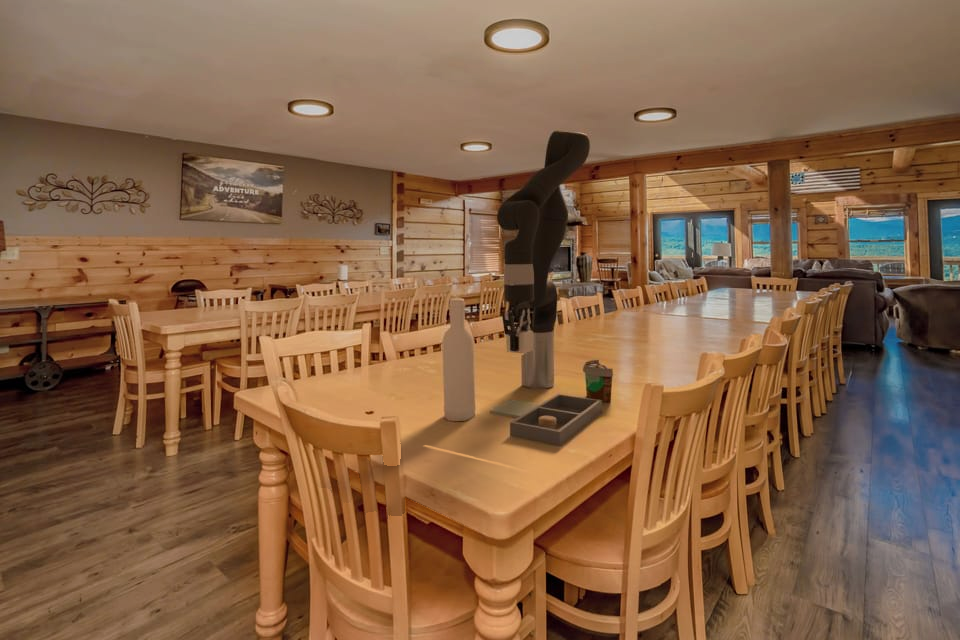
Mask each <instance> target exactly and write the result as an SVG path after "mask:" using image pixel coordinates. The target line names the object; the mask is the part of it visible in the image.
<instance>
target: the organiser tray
mask: <svg viewBox="0 0 960 640" xmlns="http://www.w3.org/2000/svg"><path fill="white" fill-rule="evenodd" d="M602 403H603V402H602V400H597V399H590V398H587V397H584V396H583V397H582V396H575V395H568V394H561V393H557V394H555V395H554V396H552V397H550V398H549V399H547V400H546V401H544V402H541V403H539V404H540V405H538V406H537V407H535V408H533V409H532V410H530V411H528V412H526V413H525V414H523V415H521V416H520V417H518V418H515V419H513V420H511V421H509V436H510V437H514V438H519V439H524V440H527V441H533V442H538V443H543V444H547V445H551V446H552V445H553V446H556V447H561V446H562V445H563V444H565V443H566V442H567V441H568V440H569V439H571V438H572V437H573V436H574V435H576V434H577V433H578V432H580V431H581V430H582V429H583V428H584V427H585V426H587V425H588V424H589V423H591V422H592V421H593V420H594V419H595V418H597V416H599V415H600V414H601V413H603V412H602V410H603V409H602V408H603V404H602ZM541 416H553V417H555V418H556V430H555V429H549V428H544V427H539V417H541Z"/></svg>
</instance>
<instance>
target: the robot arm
mask: <svg viewBox="0 0 960 640" xmlns="http://www.w3.org/2000/svg"><path fill="white" fill-rule="evenodd" d="M590 148H591V143H590V138H589V136H588V135H587V134H586V133H583V132H580V131H569V130H568V131H567V130H554V131H553V132H552V133H551V134H550V136H549V138H548V141H547V145H546V150H545V157H544V158H545V159H544V166H543V168H541V169H539V170H538V171H536V172H535V173H534V174H533V175H532V176H531V177H530V178H529V179H528V180H527V181H526V183H524V185H523V186H522V188H521V189H519V190H518V191H516V192H515V193H513V194H512V195H511V196H509V197H508V198H507V199H506V200H504V201H503V202H502V203H501V204H500V206H499V208H498V210H497V214H496V215H497V216H496V221H497V224H498V225H499V227H500V228H501V229H503V230H505V231H517V232H518V233H517V236H516V237H515V238H514V239H511V240H509V241H507V242H506V243H505V244H504V269H503V300H504V301H505V302H506V303H508V308H507V311H502V313H501V317H502V318H501V319H502V324H503V330H504V331H503V333H504V335H508V336H510V350H511V351H519V337H518V336H519V330H527V331H533V350H532V351H530V352H527V353H524V354H523V353H522V355H521V356H520V357H521V366H520V367H521V386H525V387H526V388H531V389H550V388H553V387H554V386H555V324H556V321H557V318H558V317H557V316H558V313H557V312H558V290H557V286H556V285H555V283H554V282H553V281H552V279H549V277H548V276H549V272H550V268H551V265H552V262H553V260H554V258H555V256H556V255H557V252H558V251H559V249H560V247H561V245H562V243H563V241H564V238H565V234H566V229H567V226H568V221H569V211H568V207H567V204H566V201H565V198H564V195H563V193H562V190H561V187H560V185H562V183H564V182H565V181H566V180H567V179H569V178H570V177H571V176H572V175H573V174H574V173H576V172H577V171H578V170H579V169H580V168H581V167H582V166H583V165H584V164H585V162H586V161H587V159H588V157H589V153H590ZM515 330H516V331H515Z"/></svg>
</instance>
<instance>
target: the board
mask: <svg viewBox="0 0 960 640" xmlns="http://www.w3.org/2000/svg"><path fill="white" fill-rule="evenodd" d="M540 404H541V403H534V402H528V401H523V400H515V399H508V400H507V401H505V402H503V403H501V404H499V405H498V406H496V407H494V408H491V409H489V413H490V414H494V415H498V416H504V417H510V418H515V419H516V418H518V417H520V416H521V415H523V414H525V413H526V412H528V411H530V410H532V409H533V408H535V407H537V406H538V405H540Z"/></svg>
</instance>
